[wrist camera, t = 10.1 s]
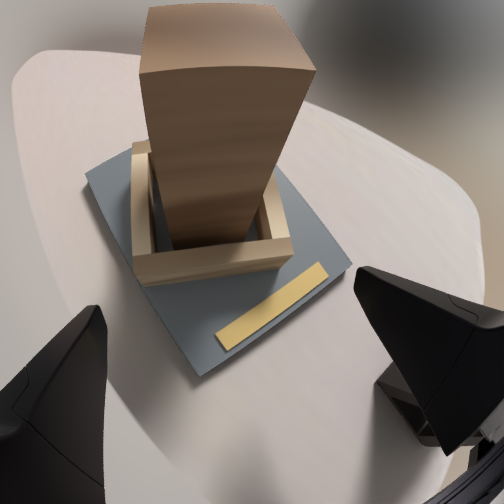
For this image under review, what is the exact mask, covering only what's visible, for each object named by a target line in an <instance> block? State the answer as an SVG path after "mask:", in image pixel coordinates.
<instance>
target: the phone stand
mask: <svg viewBox="0 0 504 504" xmlns="http://www.w3.org/2000/svg"><path fill="white" fill-rule="evenodd" d="M376 382H377V383H378V385H379V386H380V387H381V389H382V390H383V391H384V393H385V394H386V395H387V397H388V398H389V400H390V401H391V402H392V404H393V405H394V406H395V408H396V409H397V410H398V412H399V413H400V415H402V416H403V419H404V420H405V421H406V423H407V424H408V426H409V427H410V428H411V430H412V431H413V432H414V434H415V435H416V437H417V438H418V439H419V441H420V442H421V444H422V445H424V446H431V447H441V446H440V444H439V442H438V440H437V438H436V436H435V434H434V432H433V431H432V429H431V427H430V425H429V423H428V421H427V419H426V417H425V416H424V414H423V411H422V410H421V408H420V406H419V404H418V403H417V401H416V399H415V397H414V396H413V394H412V392H411V390H410V389H409V387H408V385H407V383H406V382H405V380H404V378H403V377H402V375H401V373H400V371H399V370H398V368H397V366H396V365H395V363H394V361H393V362H392V363H391V364H390V366H389V367H388V368H387V369H386V370H385V371H384V373H383V374H382V375H381V376H380V377H379V378H378V379H377V380H376ZM483 438H484V435H483V434H482V433H481V431H480V430H479V431H478V432H477V433H476V434H475V435H474V436H473V437H471V438H470V439H469V440H468V441H467V442H465V443H464V444H463V445H462V446H474V445H477V444H478V443H479V442H480V441H481V440H482V439H483Z"/></svg>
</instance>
